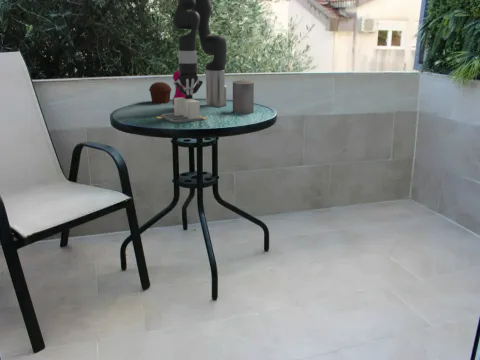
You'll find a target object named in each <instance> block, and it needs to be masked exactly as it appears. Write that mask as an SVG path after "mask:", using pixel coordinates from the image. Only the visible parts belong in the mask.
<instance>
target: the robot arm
mask: <svg viewBox="0 0 480 360" xmlns="http://www.w3.org/2000/svg"><path fill="white" fill-rule="evenodd" d="M177 1H178V2H177V7H176V9H175V12H174V14H173V20H172V21H173V25H174V27H175V28H176V29H178V30H190V33H188V34H183V35H181V36H179V37H178V68H179V77H178V80H177V81H176V82H175V81H174V82H173V85H174V86H176V87H177V89H178V90H179V91H180V92H181V93H183V94H185V99H194V98H193V95H194V94H197V92H198V91H199V90H200V87H201V86H202V85H203V83H204V82H203V80H200V79H199V76H198V58H197V56H198V55H197V34H198V37H199V42H200V47H201V49H202V51H203V53H204V54H205V55H208V56H212V57H213V58H212V60H211V61H210V62H207V63H206V64H205V100H206V101H205V102H206V103H205V104H206V106H209V107H215V108H216V107H217V108H218V107H225V106H227V85H226V82H225V79H226V77H225V76H226V75H225V73H226V71H225V69H226V68H225V67H226V63H227V49H228V47H227V40H226V38H225V37H224V36H223V35H217V34H216V35H215V34H214V35H213V34H212V33H211V29H210V25H209V23H210V18H211V15H212V14H211V13H212V11H213V10H212V2H211V0H177ZM180 82H181V84H182V85H183V88H184V90H183V88H182V87H181V86H180V85H181V84H180Z"/></svg>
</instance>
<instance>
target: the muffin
mask: <svg viewBox="0 0 480 360" xmlns="http://www.w3.org/2000/svg"><path fill="white" fill-rule="evenodd" d="M148 90H149V92H150V98H151V102H152V104H156V103H160V104H161V103H164V104H169V103H170V102H169V101H171V92H172V88H171V86H170V85H169V84H168V83H167V82H164V81H159V82H154V83H153V84H151V85H150V87H149V88H148ZM168 102H169V103H168Z"/></svg>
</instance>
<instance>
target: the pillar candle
mask: <svg viewBox="0 0 480 360" xmlns="http://www.w3.org/2000/svg"><path fill="white" fill-rule="evenodd" d="M254 83H255V82H254V81H252V80H245V79H244V78H243V79H242V80H234V81H232V113H235V114H240V115H241V114H242V113H243V115H244V114H252V113H253V112H254V109H255V108H254V107H255V106H254V104H255V103H254V99H255V98H254V97H255V95H254V94H255V92H254V91H255V88H254V87H255V84H254Z"/></svg>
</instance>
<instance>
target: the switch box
mask: <svg viewBox="0 0 480 360" xmlns="http://www.w3.org/2000/svg"><path fill="white" fill-rule="evenodd" d="M153 118H154V119H155V118H156V119H157V120H162V119H164V120H165V121H167V122H168V121H169V123H171V124H178V123H186V122H187V123H188V122H199V121H204V120H210V119H208V117H205V116H203V115H201V114H200V118H195V119H188V117H184V115H176V116H175V114H174V113H166V114H165V113H164V114H160V116H155V117H153Z"/></svg>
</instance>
